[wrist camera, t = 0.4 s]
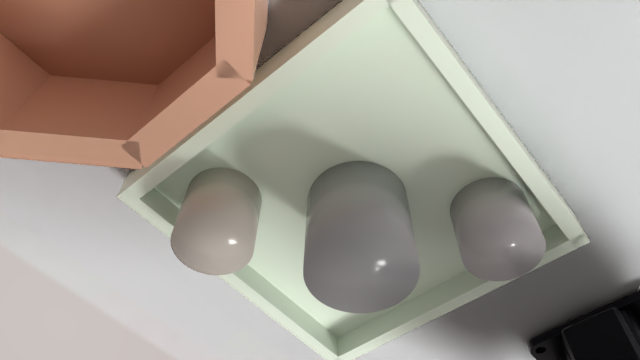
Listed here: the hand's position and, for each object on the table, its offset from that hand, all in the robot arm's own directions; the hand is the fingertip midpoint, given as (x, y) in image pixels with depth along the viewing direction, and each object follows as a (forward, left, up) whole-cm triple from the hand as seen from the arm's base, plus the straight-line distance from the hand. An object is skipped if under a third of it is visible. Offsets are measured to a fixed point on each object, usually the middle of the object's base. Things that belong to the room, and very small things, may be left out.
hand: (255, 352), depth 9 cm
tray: (-6, +2, -13) cm, 14 cm away
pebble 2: (-10, -2, -12) cm, 16 cm away
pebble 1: (-3, +6, -12) cm, 14 cm away
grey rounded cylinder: (-6, +2, -12) cm, 14 cm away
